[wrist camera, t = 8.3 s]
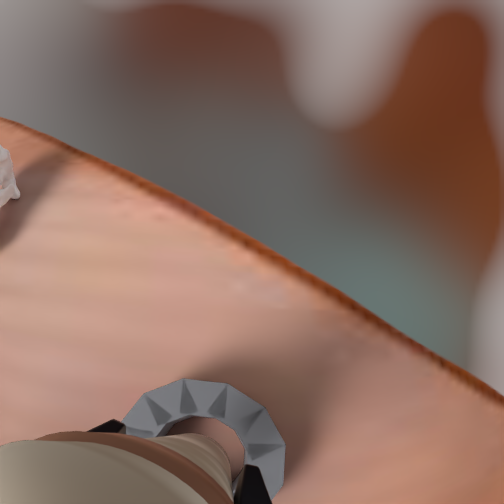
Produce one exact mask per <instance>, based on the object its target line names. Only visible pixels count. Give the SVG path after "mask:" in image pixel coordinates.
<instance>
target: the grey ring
mask: <svg viewBox="0 0 504 504" xmlns="http://www.w3.org/2000/svg"><path fill="white" fill-rule="evenodd" d="M193 416H198V417H207V418H216V419H218V420H219V421H221V422H222V423H224V424H225V425H227V426H229V427H230V428H232V429H233V430H235V432H236V434H237V436H238V437H239V439H240V441H241V443H242V445H243V447H244V448H245V452H244V465H245V464H250V465H255V466H258V467H259V468H260V471H261V474H262V476H263V479H264V482H265V485H266V488H267V490H268V493H269V496H270V499H271V500H272V499H273V498H274V496H275V495H276V494H277V492H278V491H279V490H280V488H281V487H282V486H283V479H284V463H285V446H286V444H285V442H284V441H283V439H282V437H281V435H280V434H279V432H278V430H277V428H276V426H275V425H274V423H273V421H272V419H271V417H270V415H269V414H268V412H267V410H266V408H265V407H264V406H262V405H260V404H259V403H257V402H256V401H254V400H252V399H251V398H249V397H248V396H246V395H245V394H243V393H241V392H240V391H238V390H237V389H235V388H234V387H232V386H231V385H229V384H228V383H218V382H209V381H200V380H192V379H184V378H183V379H181V380H178V381H176V382H173V383H170V384H168V385H165V386H163V387H160V388H157V389H155V390H152V391H149V392H146V393H144V394H143V395H142V396H141V398H140V399H139V400H138V401H137V403H136V404H135V405H134V406H133V408H132V409H131V410H130V411H129V413H128V414H127V415H126V416H125V418H124V419H123V420H122V421H121V422H122V423H124V424H125V425H126V435H132V436H136V437H140V438H154V437H163V436H165V435H166V434H167V433H168V431H169V430H170V429H171V428H172V426H173V425H174V424H175V423H177V422H180V421H183V420H185V419H188V418H191V417H193ZM241 472H242V471H241ZM240 474H241V473H240ZM240 474H239V475H238V477H237V478H236V479H235V480H234V482H233V483H232V490H233V497H234V493H235V489H236V486H237V482H238V479H239V476H240Z"/></svg>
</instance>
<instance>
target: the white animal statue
mask: <svg viewBox="0 0 504 504" xmlns="http://www.w3.org/2000/svg"><path fill="white" fill-rule="evenodd" d="M0 185H1V186H2V188H3V189H1V190H0V208H1V207H2V206H3V205H4V204H6V203H7V202H8V200H9V199H10V198H12V199H18V198H19V197H20V191H19V190H18V188H17V186H16V179H15V177H14V172H13V163H12V160H11V157H10V153H9V151H8V150H6V149H4V148H3V147H2V146H1V145H0Z"/></svg>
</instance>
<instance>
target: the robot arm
mask: <svg viewBox="0 0 504 504" xmlns="http://www.w3.org/2000/svg"><path fill="white" fill-rule="evenodd" d="M86 432H101V433H119V434H126V425H125V424H124V423H122V422H120V421H117V420H115V419H112V420H110V421H108V422H106V423H104V424H101V425H99V426H97V427H95V428H93V429H91V430H89V431H86ZM233 500H234V504H272V501H271V499H270V496H269V493H268V490H267V488H266V485H265V482H264V479H263V476H262V474H261V471H260V468H259V467H258V466H255V465H250V464H245V465H244V467H243V469H242V472H241V474H240V476H239V479H238V482H237V486H236V489H235V493H234V497H233Z"/></svg>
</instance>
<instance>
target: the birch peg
mask: <svg viewBox="0 0 504 504" xmlns="http://www.w3.org/2000/svg"><path fill="white" fill-rule="evenodd" d="M0 504H234V500H233V490H232V480H231V470H230V462H229V459H228V456H227V454H226V452H225V451H224V449H223V448H222V447H221V446H220V445H219V444H218V443H217V442H216V441H214V440H213V439H211V438H209V437H207V436H204V435H201V434H195V433H186V434H179V435H171V436H163V437H154V438H140V437H136V436H132V435H126V434H119V433H101V432H81V431H72V432H59V433H54V434H49V435H46V436H43V437H41V438H38V439H36V440H24V441H18V442H11V443H8V444H5V445H2V446H0Z"/></svg>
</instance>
